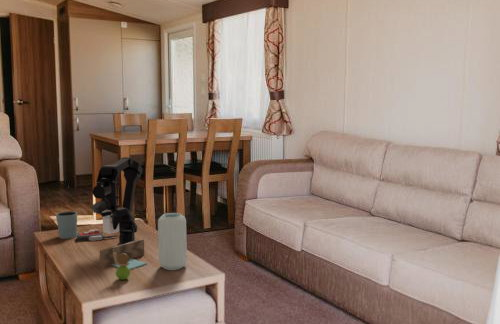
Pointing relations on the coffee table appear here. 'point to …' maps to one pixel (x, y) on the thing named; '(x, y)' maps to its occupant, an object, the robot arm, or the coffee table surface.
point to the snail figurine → (122, 265)
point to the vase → (172, 241)
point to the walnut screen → (130, 249)
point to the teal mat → (132, 264)
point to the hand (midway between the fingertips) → (111, 228)
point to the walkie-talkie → (92, 235)
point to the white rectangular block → (109, 225)
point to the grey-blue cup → (67, 224)
